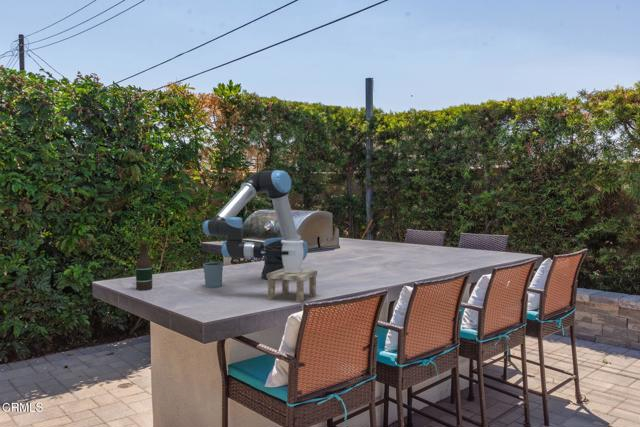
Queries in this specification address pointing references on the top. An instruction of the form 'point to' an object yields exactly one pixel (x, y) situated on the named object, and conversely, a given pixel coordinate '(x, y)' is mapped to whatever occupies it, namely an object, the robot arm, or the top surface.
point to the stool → (292, 276)
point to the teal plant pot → (213, 274)
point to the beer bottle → (143, 269)
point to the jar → (293, 262)
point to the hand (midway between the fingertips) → (298, 251)
